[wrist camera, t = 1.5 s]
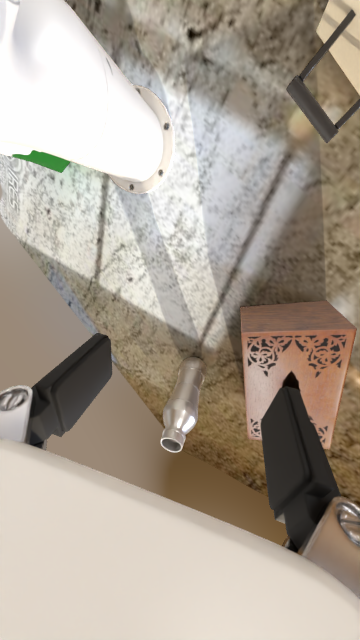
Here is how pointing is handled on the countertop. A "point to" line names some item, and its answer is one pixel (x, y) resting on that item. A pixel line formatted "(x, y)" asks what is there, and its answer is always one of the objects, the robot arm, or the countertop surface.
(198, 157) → the countertop surface
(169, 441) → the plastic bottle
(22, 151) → the milk carton
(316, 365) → the tissue box cover
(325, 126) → the cabinet drawer
